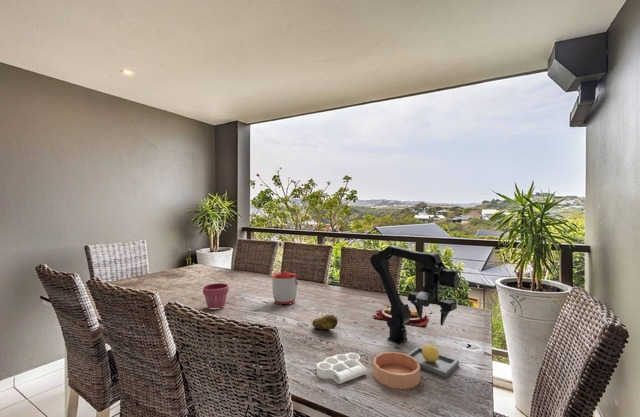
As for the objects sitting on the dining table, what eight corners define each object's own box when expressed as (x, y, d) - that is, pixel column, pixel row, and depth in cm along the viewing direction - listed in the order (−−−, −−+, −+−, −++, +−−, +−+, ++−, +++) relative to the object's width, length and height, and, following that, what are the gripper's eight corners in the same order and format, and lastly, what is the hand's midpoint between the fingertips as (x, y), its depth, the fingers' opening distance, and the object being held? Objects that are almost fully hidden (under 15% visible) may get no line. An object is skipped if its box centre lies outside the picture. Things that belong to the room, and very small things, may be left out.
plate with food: (424, 329, 149) (425, 322, 149) (372, 318, 162) (372, 312, 162) (432, 314, 171) (432, 308, 171) (385, 306, 184) (385, 300, 184)
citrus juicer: (299, 306, 182) (298, 272, 182) (269, 306, 182) (269, 273, 182) (301, 298, 197) (301, 267, 197) (274, 298, 198) (274, 267, 198)
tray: (403, 362, 116) (403, 356, 116) (418, 351, 125) (418, 346, 125) (445, 378, 105) (445, 372, 105) (458, 365, 114) (458, 360, 114)
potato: (324, 324, 154) (323, 308, 154) (340, 332, 144) (340, 315, 144) (310, 328, 150) (310, 311, 149) (326, 337, 139) (326, 319, 139)
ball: (419, 362, 115) (418, 345, 115) (426, 356, 119) (426, 340, 119) (434, 367, 111) (434, 350, 111) (441, 361, 115) (441, 345, 115)
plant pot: (212, 313, 171) (212, 290, 171) (198, 308, 179) (198, 286, 179) (233, 306, 182) (233, 285, 182) (219, 302, 190) (219, 281, 190)
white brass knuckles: (332, 390, 100) (309, 369, 112) (374, 373, 109) (349, 356, 121) (332, 379, 100) (309, 360, 112) (374, 364, 109) (349, 348, 121)
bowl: (364, 375, 107) (364, 362, 107) (389, 359, 118) (389, 348, 118) (405, 394, 96) (405, 380, 96) (427, 375, 107) (427, 362, 107)
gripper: (400, 282, 127) (400, 320, 127) (444, 292, 113) (443, 334, 113) (414, 278, 134) (414, 313, 135) (457, 287, 120) (457, 326, 121)
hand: (430, 321), depth 126 cm, fingers open, 9 cm apart
